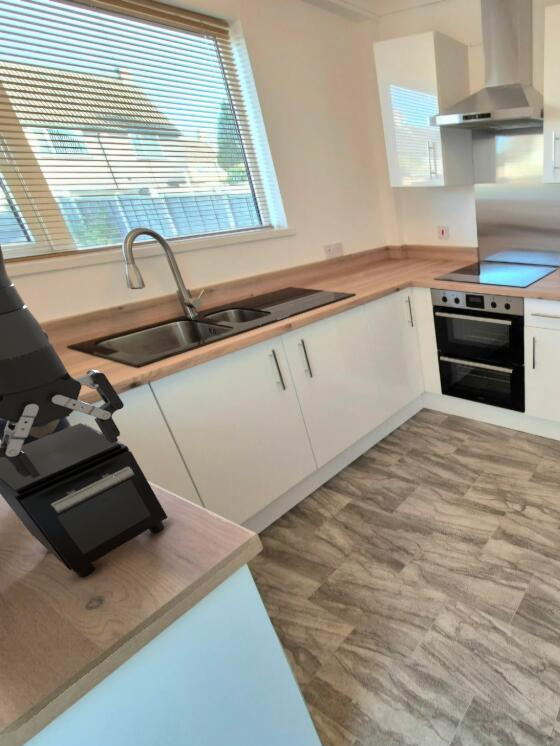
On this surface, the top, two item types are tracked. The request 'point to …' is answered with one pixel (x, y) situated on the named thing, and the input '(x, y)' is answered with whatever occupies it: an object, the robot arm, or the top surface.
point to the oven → (57, 473)
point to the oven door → (96, 510)
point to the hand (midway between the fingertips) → (75, 457)
